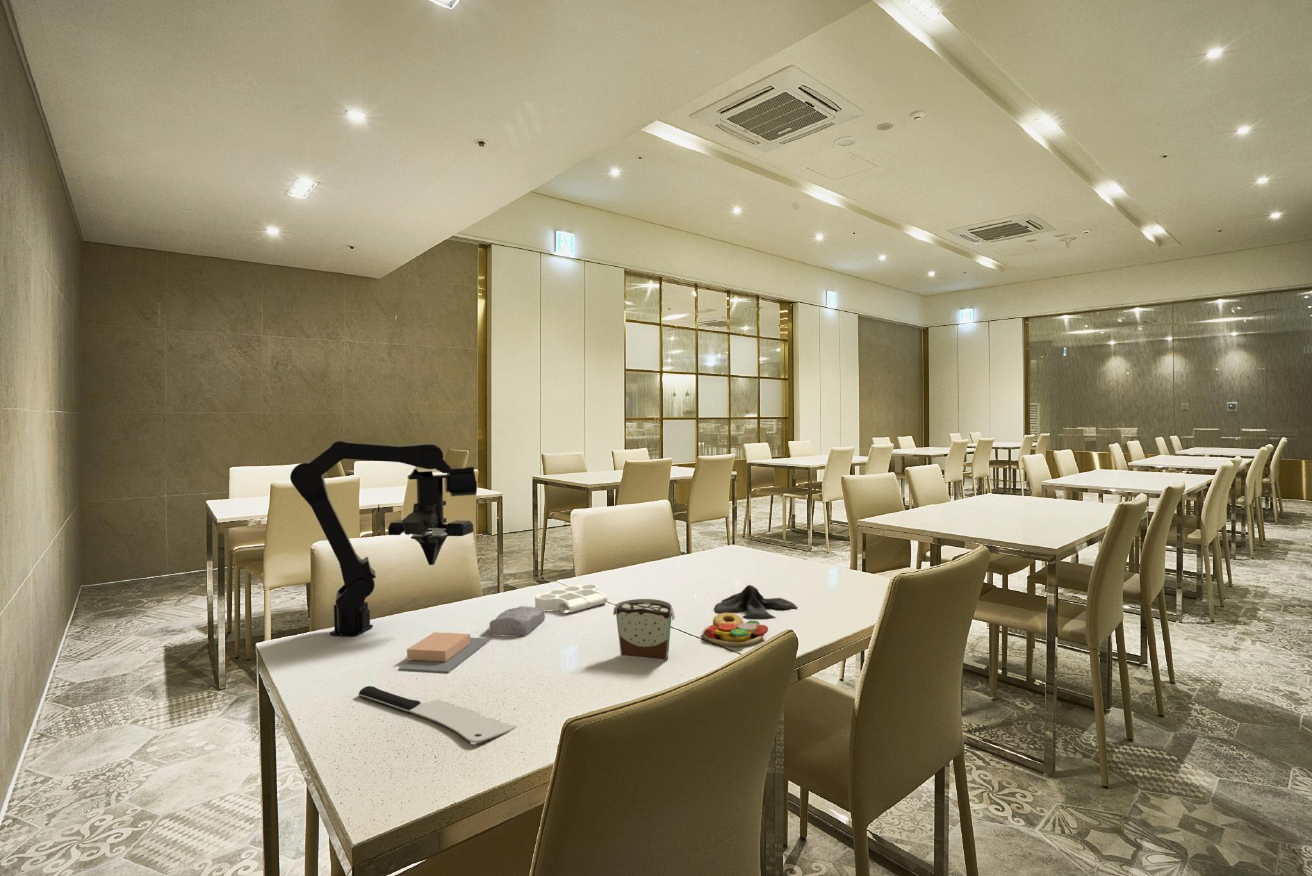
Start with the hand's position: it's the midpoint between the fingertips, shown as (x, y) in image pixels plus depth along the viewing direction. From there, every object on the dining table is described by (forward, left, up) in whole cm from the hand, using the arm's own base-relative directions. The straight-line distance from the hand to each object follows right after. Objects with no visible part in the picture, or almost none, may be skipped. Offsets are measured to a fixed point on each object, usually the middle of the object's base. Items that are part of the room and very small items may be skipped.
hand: (431, 564), depth 149 cm
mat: (+15, -20, -13) cm, 28 cm away
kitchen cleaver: (+25, -43, -14) cm, 52 cm away
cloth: (+72, +20, -14) cm, 76 cm away
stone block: (+21, -2, -14) cm, 25 cm away
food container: (+54, -14, -13) cm, 57 cm away
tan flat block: (+9, -20, -12) cm, 25 cm away
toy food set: (+70, -2, -14) cm, 71 cm away
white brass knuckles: (+28, +17, -14) cm, 36 cm away
